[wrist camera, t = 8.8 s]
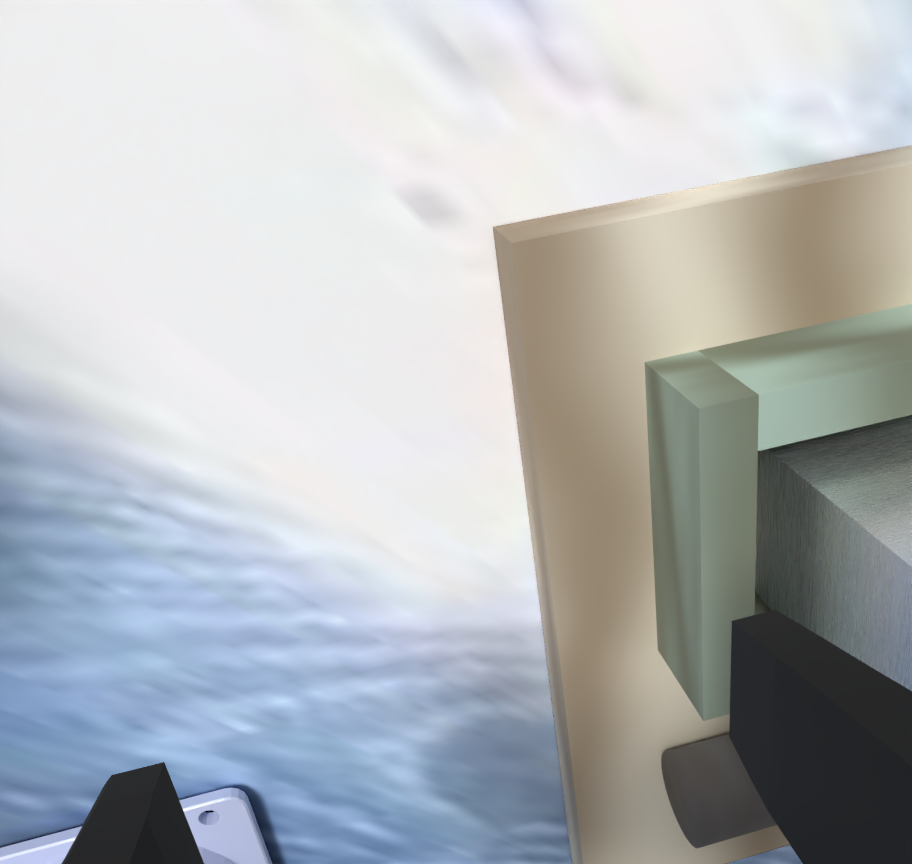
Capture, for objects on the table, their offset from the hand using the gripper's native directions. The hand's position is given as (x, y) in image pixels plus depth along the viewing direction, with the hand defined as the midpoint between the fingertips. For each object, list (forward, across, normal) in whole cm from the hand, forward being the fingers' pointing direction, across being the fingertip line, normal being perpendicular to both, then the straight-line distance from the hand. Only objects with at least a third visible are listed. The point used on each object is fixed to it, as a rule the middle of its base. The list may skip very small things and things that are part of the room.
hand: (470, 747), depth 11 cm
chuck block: (+9, -10, +6) cm, 15 cm away
